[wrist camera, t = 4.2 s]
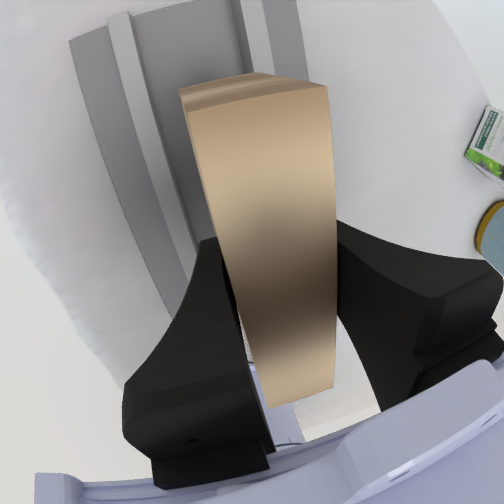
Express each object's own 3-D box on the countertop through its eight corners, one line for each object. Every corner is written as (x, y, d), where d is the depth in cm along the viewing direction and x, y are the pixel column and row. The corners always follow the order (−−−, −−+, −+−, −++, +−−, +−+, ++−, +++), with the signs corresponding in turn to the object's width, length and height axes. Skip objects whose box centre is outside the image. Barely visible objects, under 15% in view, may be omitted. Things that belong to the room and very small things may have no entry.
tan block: (290, 300, 18) (333, 387, 13) (238, 316, 18) (268, 409, 13) (256, 72, 11) (326, 86, 6) (178, 89, 11) (186, 113, 6)
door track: (320, 268, 25) (336, 292, 23) (172, 312, 24) (175, 341, 22) (287, -9, 14) (307, -18, 11) (73, 41, 12) (56, 39, 10)
